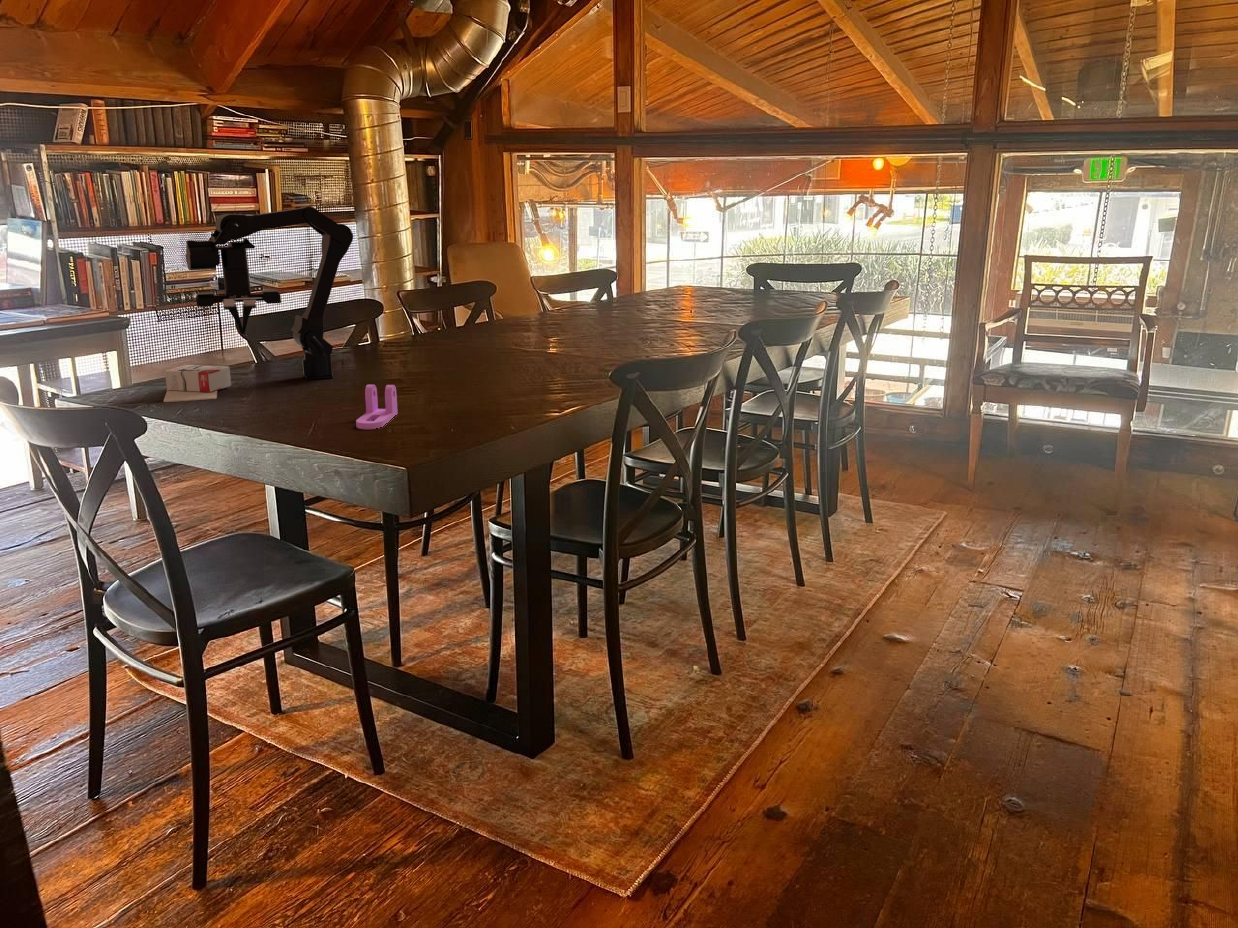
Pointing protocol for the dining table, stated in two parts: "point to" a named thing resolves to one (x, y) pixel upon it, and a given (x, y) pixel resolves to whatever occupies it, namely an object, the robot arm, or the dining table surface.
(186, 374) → the ink box
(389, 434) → the dining table surface
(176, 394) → the mat
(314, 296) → the robot arm
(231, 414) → the dining table surface
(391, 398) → the bracket
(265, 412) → the dining table surface
